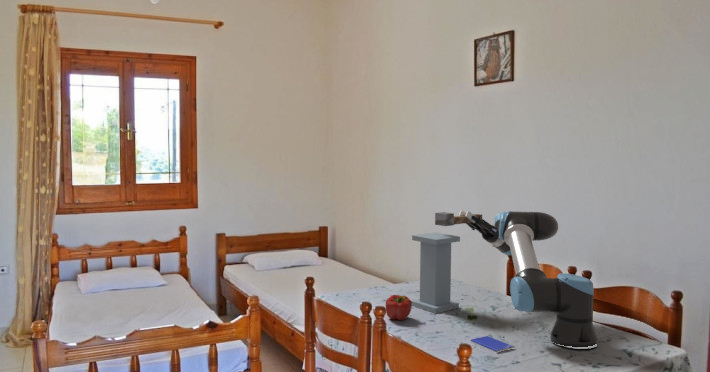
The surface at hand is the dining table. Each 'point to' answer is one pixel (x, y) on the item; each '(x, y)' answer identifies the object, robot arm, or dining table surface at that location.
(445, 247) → the stand
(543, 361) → the dining table surface
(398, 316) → the vegetable
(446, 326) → the dining table surface
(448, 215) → the mallet
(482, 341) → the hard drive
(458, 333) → the dining table surface
